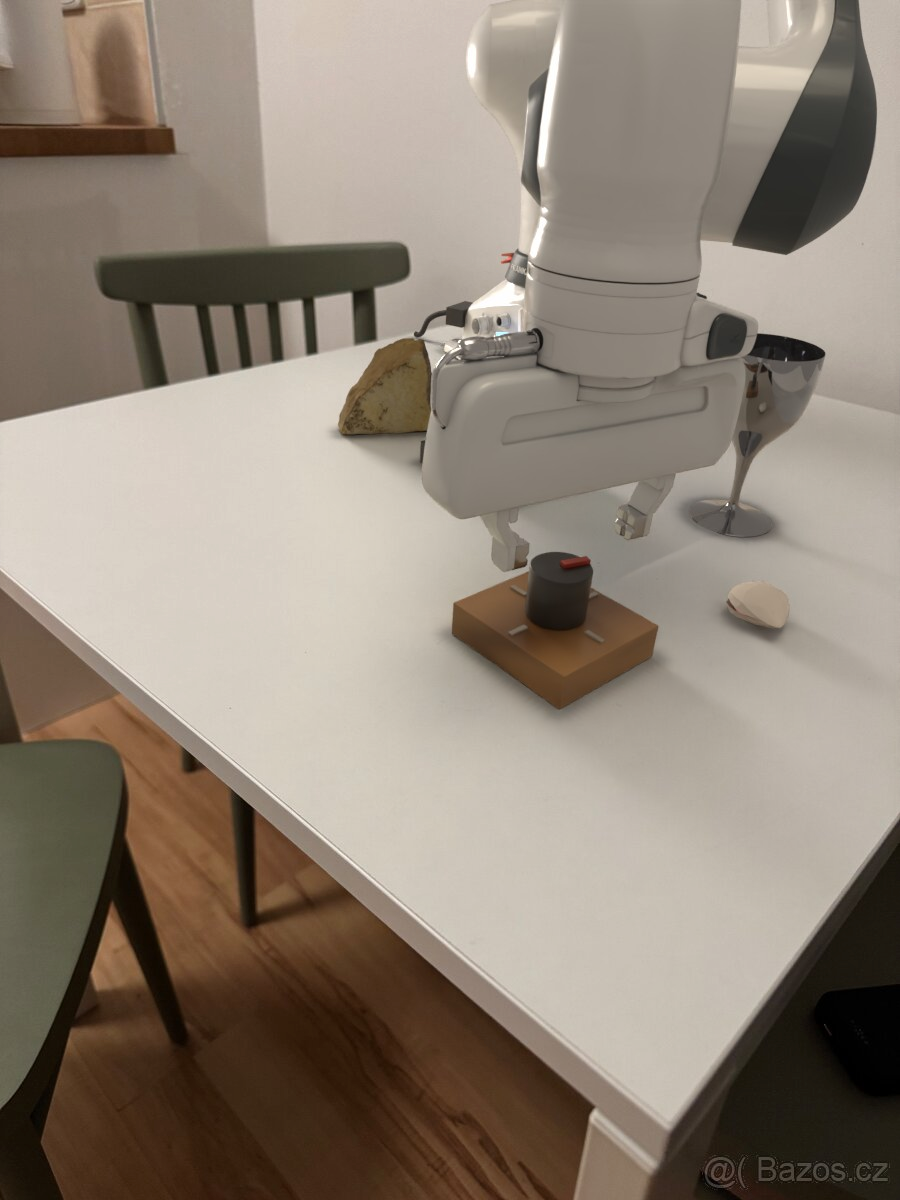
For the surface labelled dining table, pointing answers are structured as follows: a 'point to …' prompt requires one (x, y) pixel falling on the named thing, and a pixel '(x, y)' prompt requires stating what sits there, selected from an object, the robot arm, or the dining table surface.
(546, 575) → the volume knob
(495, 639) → the volume panel
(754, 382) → the wine glass
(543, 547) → the dining table surface
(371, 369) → the rock
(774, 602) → the clam shell
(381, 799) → the dining table surface
